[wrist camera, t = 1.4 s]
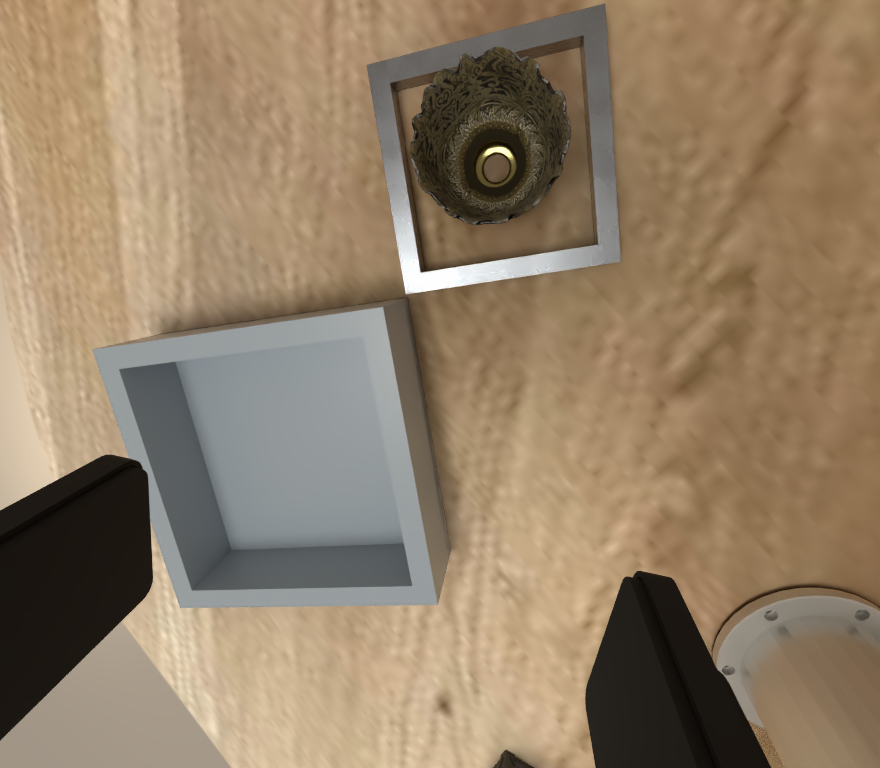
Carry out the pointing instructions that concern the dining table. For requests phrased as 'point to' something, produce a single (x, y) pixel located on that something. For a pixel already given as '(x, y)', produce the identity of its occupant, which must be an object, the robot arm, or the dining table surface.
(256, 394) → the bin
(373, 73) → the square metal frame
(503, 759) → the lantern
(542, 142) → the dark bronze rounded piece
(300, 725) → the dining table surface
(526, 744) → the dining table surface
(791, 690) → the robot arm
